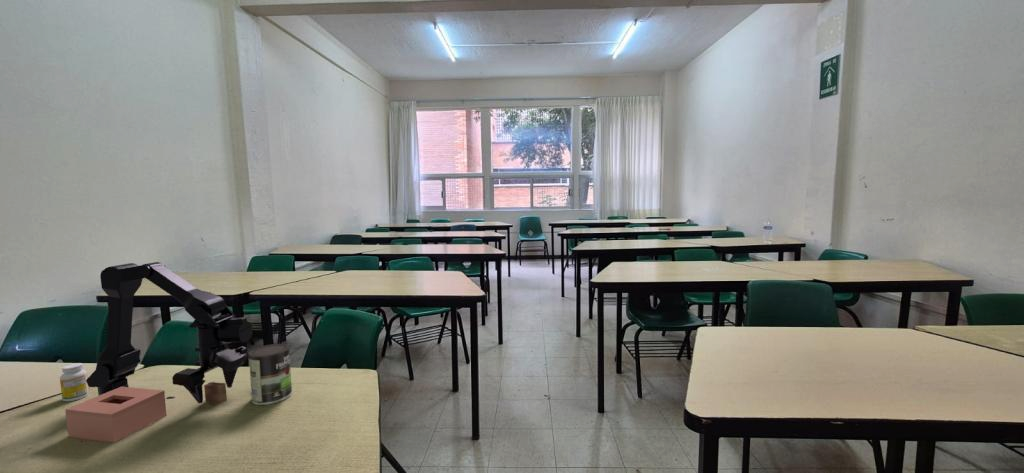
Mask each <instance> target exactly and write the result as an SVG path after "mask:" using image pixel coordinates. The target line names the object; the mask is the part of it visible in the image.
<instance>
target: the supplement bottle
mask: <svg viewBox="0 0 1024 473" xmlns="http://www.w3.org/2000/svg"><path fill="white" fill-rule="evenodd" d="M61 371H62V374H61V375H60V377H59V382H60V383H59V384H60V391H61V400H62V401H63V402H72V401H73V402H74V401H77V400H81V399H84V398H85V397H87V396H89V395H90V394H89V393H90V391H89V389H90V388H89V386H88V384H87V382H86V380H87V379H88V372H87V371H86V370H85V369H84V365H83V363H81V362H78V363H77V362H76V363H72V364H68V365H64V366H62V370H61Z"/></svg>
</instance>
